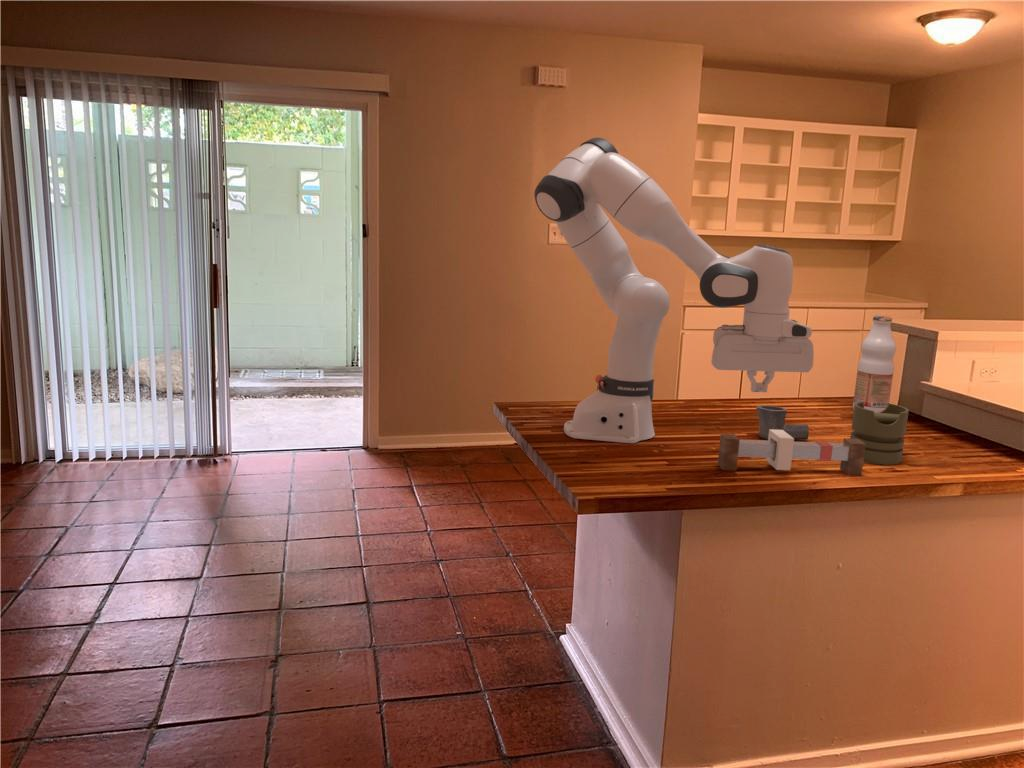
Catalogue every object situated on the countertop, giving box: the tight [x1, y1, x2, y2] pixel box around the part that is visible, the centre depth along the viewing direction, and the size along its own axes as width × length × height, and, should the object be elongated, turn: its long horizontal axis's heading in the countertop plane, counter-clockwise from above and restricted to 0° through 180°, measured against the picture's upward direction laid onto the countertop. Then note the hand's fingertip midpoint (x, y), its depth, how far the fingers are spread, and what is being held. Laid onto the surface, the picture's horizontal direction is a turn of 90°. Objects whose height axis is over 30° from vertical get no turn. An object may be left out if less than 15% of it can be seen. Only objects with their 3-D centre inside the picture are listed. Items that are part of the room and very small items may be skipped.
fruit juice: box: [852, 315, 897, 413], centre depth 223 cm, size 9×9×28 cm
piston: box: [849, 401, 910, 466], centre depth 179 cm, size 11×12×11 cm
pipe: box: [755, 404, 810, 441], centre depth 192 cm, size 6×13×8 cm, turn 78°
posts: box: [717, 433, 866, 476], centre depth 168 cm, size 30×4×7 cm, turn 90°
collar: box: [765, 429, 795, 471], centre depth 168 cm, size 3×7×7 cm, turn 0°
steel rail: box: [738, 439, 850, 462], centre depth 168 cm, size 28×3×3 cm, turn 90°
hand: (758, 391), depth 162 cm, fingers closed
